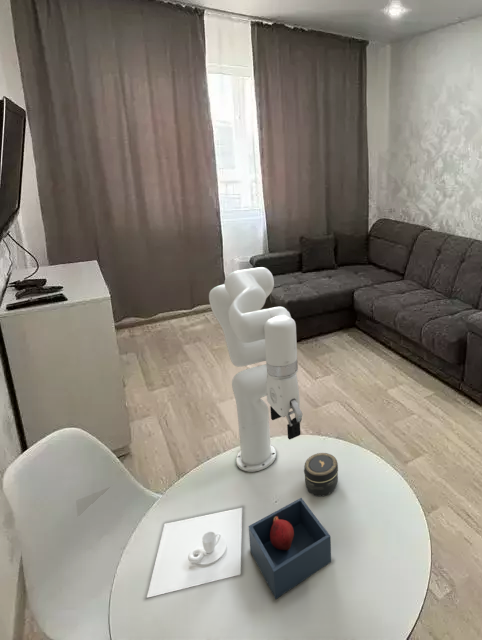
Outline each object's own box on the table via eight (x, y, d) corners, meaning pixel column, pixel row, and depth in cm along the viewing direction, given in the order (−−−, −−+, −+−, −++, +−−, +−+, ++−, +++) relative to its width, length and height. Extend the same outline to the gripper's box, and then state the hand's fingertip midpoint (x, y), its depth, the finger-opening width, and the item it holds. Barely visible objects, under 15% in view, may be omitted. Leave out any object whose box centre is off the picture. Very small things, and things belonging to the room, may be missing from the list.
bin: (250, 551, 103) (248, 526, 101) (302, 521, 111) (301, 497, 110) (275, 599, 91) (273, 571, 90) (331, 561, 100) (330, 535, 98)
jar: (323, 468, 130) (323, 447, 129) (345, 485, 124) (344, 463, 122) (298, 485, 123) (297, 463, 122) (319, 504, 117) (318, 481, 115)
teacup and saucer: (187, 570, 98) (185, 556, 97) (191, 541, 105) (190, 528, 104) (226, 561, 100) (224, 547, 99) (227, 533, 107) (226, 520, 107)
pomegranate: (291, 550, 98) (277, 517, 101) (273, 561, 99) (259, 528, 102) (303, 538, 104) (288, 507, 106) (285, 548, 105) (271, 517, 107)
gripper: (254, 357, 106) (258, 416, 110) (283, 385, 93) (287, 451, 97) (280, 349, 111) (283, 406, 115) (312, 375, 97) (315, 438, 101)
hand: (285, 427), depth 106 cm, fingers open, 9 cm apart
